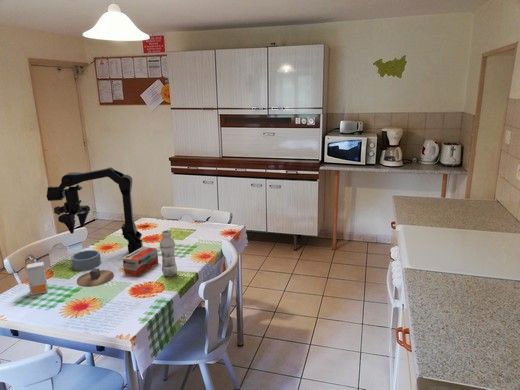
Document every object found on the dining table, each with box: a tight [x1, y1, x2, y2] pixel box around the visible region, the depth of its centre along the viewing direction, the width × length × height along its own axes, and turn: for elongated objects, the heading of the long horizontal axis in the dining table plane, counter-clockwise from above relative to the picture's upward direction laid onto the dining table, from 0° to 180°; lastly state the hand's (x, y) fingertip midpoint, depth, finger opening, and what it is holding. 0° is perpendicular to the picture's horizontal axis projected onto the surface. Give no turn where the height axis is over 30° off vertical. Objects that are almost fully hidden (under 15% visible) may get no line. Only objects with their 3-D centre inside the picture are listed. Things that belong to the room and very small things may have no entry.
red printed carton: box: [122, 246, 159, 277], centre depth 175 cm, size 15×8×8 cm, turn 160°
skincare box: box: [26, 261, 48, 296], centre depth 154 cm, size 6×4×12 cm
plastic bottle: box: [159, 230, 178, 277], centre depth 167 cm, size 6×7×20 cm
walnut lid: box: [76, 268, 115, 288], centre depth 166 cm, size 15×15×4 cm
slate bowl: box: [70, 249, 102, 272], centre depth 180 cm, size 12×12×5 cm
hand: (77, 230), depth 187 cm, fingers open, 9 cm apart
